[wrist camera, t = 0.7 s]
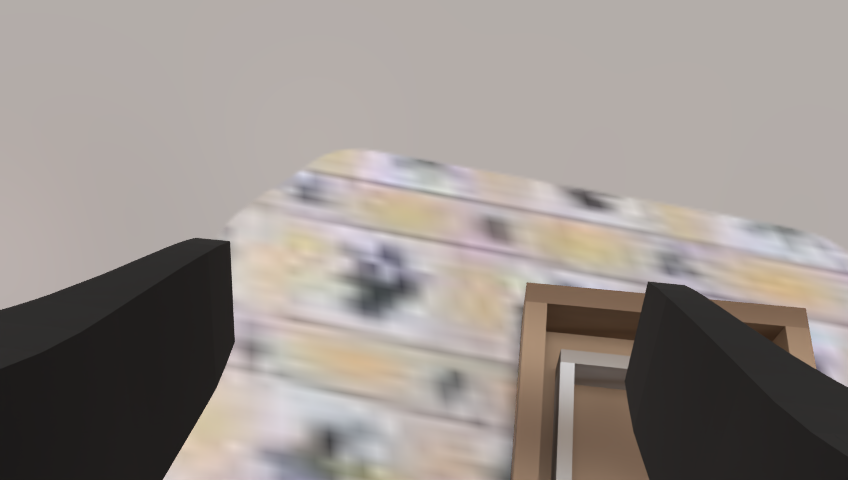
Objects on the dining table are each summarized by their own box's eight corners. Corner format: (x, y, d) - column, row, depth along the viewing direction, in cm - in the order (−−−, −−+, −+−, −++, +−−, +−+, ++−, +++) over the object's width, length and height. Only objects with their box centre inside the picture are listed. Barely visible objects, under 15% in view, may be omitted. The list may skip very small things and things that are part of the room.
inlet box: (826, 702, 21) (874, 705, 19) (498, 650, 22) (501, 646, 20) (775, 343, 27) (805, 308, 25) (522, 317, 29) (526, 282, 26)
